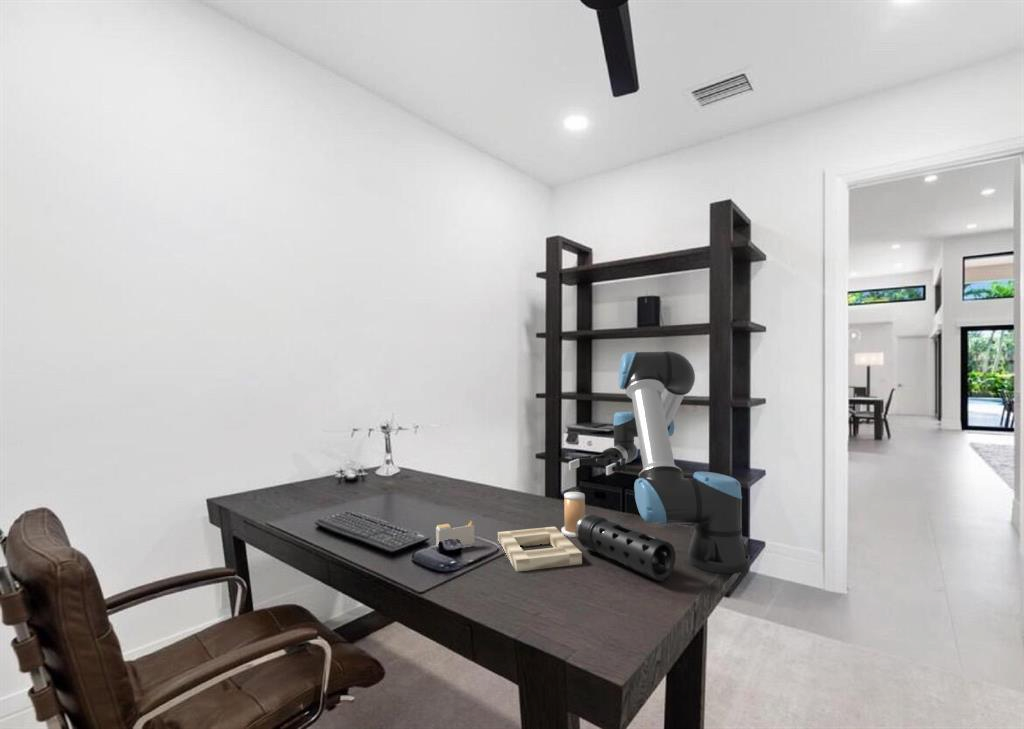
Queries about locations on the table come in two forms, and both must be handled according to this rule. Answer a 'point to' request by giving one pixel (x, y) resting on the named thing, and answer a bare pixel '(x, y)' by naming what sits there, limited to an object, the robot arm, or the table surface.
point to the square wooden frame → (539, 558)
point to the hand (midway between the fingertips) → (587, 468)
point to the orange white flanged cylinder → (573, 511)
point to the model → (455, 533)
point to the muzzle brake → (626, 546)
